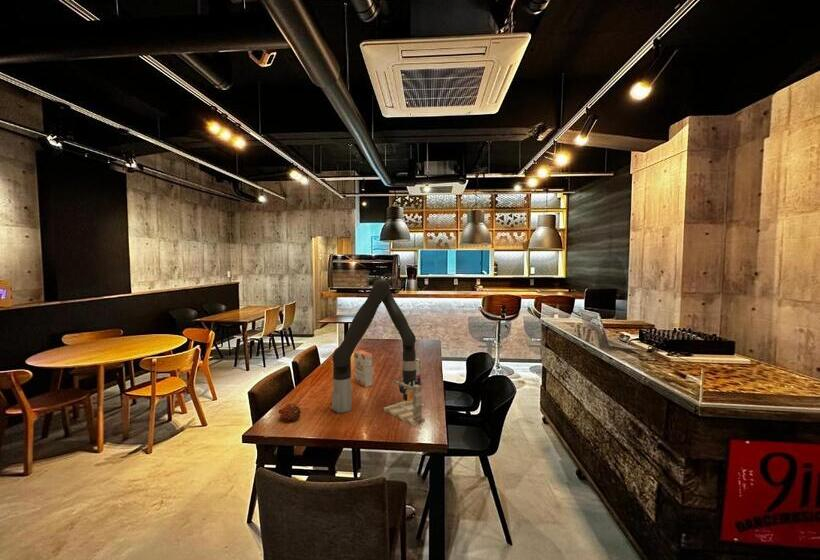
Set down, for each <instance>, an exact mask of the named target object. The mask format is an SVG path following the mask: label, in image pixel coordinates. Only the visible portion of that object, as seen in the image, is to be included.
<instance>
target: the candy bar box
mask: <svg viewBox="0 0 820 560" xmlns="http://www.w3.org/2000/svg"><path fill="white" fill-rule="evenodd" d="M402 363H403V359H401V364H402ZM416 377H417V378H420V383H419V385H420V386H422V385H421V384H422V383H421V382H422V381H421V380H422V379H421V360H420V358H416ZM402 378H403V376H402Z"/></svg>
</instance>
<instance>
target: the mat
mask: <svg viewBox="0 0 820 560" xmlns="http://www.w3.org/2000/svg"><path fill="white" fill-rule="evenodd" d="M395 405H397V406H399V407H402V408H404V409H406V410H408V411H410V412H412V411H413V401H410V402H406V401H405V400H403V401H400V402H397V403H395ZM424 406H425V404H424V403H422V407H424Z"/></svg>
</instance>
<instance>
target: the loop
mask: <svg viewBox="0 0 820 560" xmlns="http://www.w3.org/2000/svg"><path fill="white" fill-rule="evenodd" d="M405 390H406V389H405ZM410 401H413V390H411V389H409V390H407V401H406V402H410Z"/></svg>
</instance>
